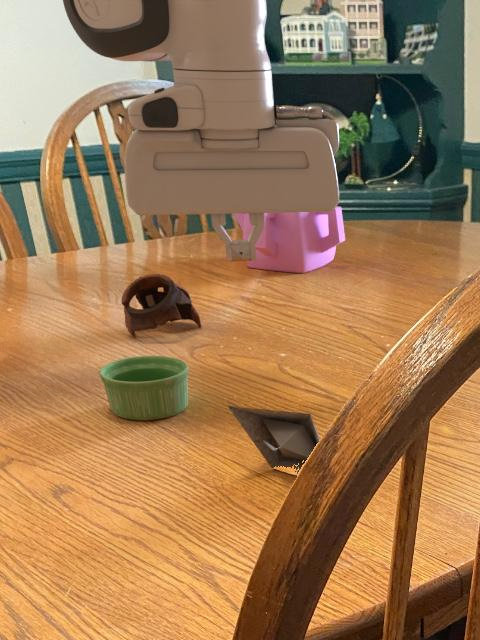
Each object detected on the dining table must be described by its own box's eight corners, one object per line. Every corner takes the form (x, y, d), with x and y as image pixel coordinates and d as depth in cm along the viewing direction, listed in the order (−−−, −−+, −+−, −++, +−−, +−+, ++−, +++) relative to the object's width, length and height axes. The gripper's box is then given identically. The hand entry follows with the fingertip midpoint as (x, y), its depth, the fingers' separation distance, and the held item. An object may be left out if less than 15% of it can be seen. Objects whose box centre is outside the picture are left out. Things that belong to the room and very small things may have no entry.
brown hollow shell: (219, 334, 122) (194, 287, 115) (162, 374, 121) (133, 329, 113) (175, 293, 128) (148, 246, 121) (120, 331, 126) (90, 286, 119)
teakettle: (259, 277, 148) (252, 195, 141) (230, 256, 161) (223, 180, 154) (355, 269, 155) (353, 190, 148) (321, 249, 167) (317, 176, 161)
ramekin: (190, 421, 95) (184, 381, 92) (100, 425, 93) (92, 383, 91) (196, 392, 102) (191, 354, 100) (113, 395, 101) (106, 356, 98)
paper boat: (369, 448, 87) (350, 462, 78) (332, 501, 89) (310, 520, 80) (265, 372, 86) (235, 377, 77) (230, 427, 88) (196, 438, 79)
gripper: (333, 103, 89) (340, 250, 96) (116, 102, 85) (140, 256, 92) (341, 108, 84) (347, 264, 91) (110, 107, 80) (136, 270, 87)
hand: (241, 260), depth 92 cm, fingers closed
